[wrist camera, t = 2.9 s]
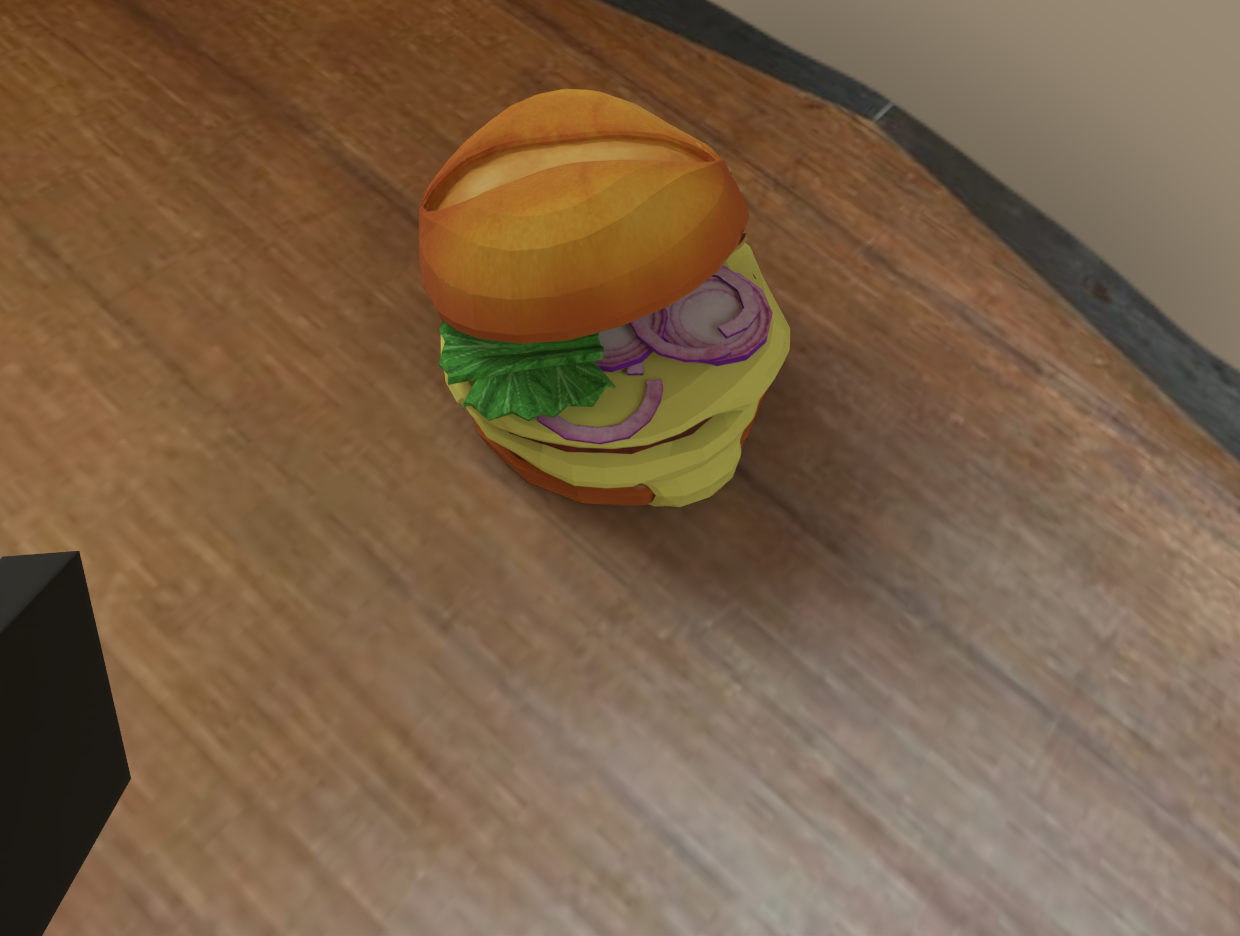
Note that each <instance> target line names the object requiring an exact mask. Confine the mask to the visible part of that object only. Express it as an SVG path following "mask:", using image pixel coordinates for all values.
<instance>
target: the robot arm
mask: <svg viewBox="0 0 1240 936" xmlns="http://www.w3.org/2000/svg"><path fill="white" fill-rule="evenodd" d="M130 779H131V776H130V772H129V767H128V763H127V759H126V754H125V750H124V745H123V741H122V737H121V732H120V728H119V723H118V719H117V715H116V710H115V706H114V702H113V697H112V693H111V688H110V684H109V680H108V675H107V671H106V666H105V662H104V658H103V653H102V649H101V645H100V640H99V636H98V631H97V627H96V623H95V618H94V614H93V609H92V605H91V601H90V596H89V592H88V587H87V583H86V579H85V574H84V570H83V566H82V561H81V557H80V552H79V551H72V552H59V553H46V554H33V555H19V556H6V557H2V558H1V559H0V936H42V935H43V933H44V931H45V929H46V928H47V926H48V924H49V922H50V921H51V919H52V917H53V915H54V914H55V912H56V910H57V908H58V907H59V905H60V903H61V901H62V899H63V898H64V896H65V894H66V892H67V891H68V889H69V887H70V885H71V884H72V882H73V880H74V878H75V876H76V875H77V873H78V871H79V869H80V868H81V866H82V864H83V862H84V861H85V859H86V857H87V855H88V854H89V852H90V850H91V848H92V846H93V845H94V843H95V841H96V839H97V838H98V836H99V834H100V832H101V831H102V829H103V827H104V825H105V823H106V822H107V820H108V818H109V816H110V815H111V813H112V811H113V809H114V808H115V806H116V804H117V802H118V801H119V799H120V797H121V795H122V793H123V792H124V790H125V788H126V786H127V785H128V783H129V781H130Z"/></svg>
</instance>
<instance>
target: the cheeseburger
mask: <svg viewBox="0 0 1240 936" xmlns="http://www.w3.org/2000/svg"><path fill="white" fill-rule="evenodd" d="M748 219H749V214H748V209H747V205H746V201H745V199H744V197H743V196H742V194H741V192H740V190H739V188H738V186H737V184H736V182H735V181H734V179H733V177H732V175H731V173H730V171H729V169H728V168H727V166H726V164H725V162H724V161H723V159H722V158H721V157H720V156H719V155H718V154H717V153H716V152H715V151H714V150H713V149H712V148H711V147H709V146H708V145H706V144H705V143H703V142H701V141H699V140H697V139H696V138H694V137H692V136H690V135H688V134H686V133H684V132H683V131H681V130H679V129H677V128H675V127H674V126H672V125H670V124H668V123H667V122H665V121H663V120H662V119H660V118H658V117H657V116H655V115H653V114H652V113H650V112H648V111H646V110H645V109H643V108H641V107H639V106H637V105H636V104H634V103H632V102H629V101H626V100H623V99H620V98H617V97H614V96H611V95H608V94H605V93H602V92H598V91H593V90H576V89H562V90H557V91H552V92H547V93H542V94H537V95H535V96H533V97H530V98H528V99H526V100H524V101H521V102H519V103H517V104H514V105H512V106H510V107H509V108H507V109H506V110H504V111H503V112H502V113H500V114H499V115H497V116H496V117H495V118H493V119H492V120H491V121H489V122H488V123H487V124H486V125H484V126H483V127H482V128H481V129H480V130H478V131H477V132H476V133H475V134H474V135H472V136H471V137H470V138H469V139H468V140H466V141H465V143H464V144H463V145H462V146H461V147H460V148H459V149H458V150H457V151H456V152H455V153H454V154H453V155H452V157H451V158H450V159H449V160H448V161H447V162H446V163H445V165H444V166H443V167H442V169H441V170H440V171H439V172H438V174H437V175H436V176H435V178H434V179H433V180H432V182H431V184H430V185H429V187H428V188H427V190H426V192H425V195H424V198H423V200H422V203H421V206H420V208H419V265H420V270H421V275H422V279H423V284H424V289H425V290H426V292H427V294H428V296H429V298H430V299H431V301H432V303H433V305H434V307H435V308H436V310H437V312H438V314H439V315H440V317H441V319H442V320H443V321H444V322H443V324H442V326H441V327H440V329H439V331H440V333H441V357H440V360H439V366H440V367H441V368H442V369H443V370H444V374H445V382H446V384H447V385H448V387H449V389H450V391H451V393H452V394H453V396H454V398H455V400H456V402H457V403H459V404H461V405H462V408H463V409H464V408H466V409H467V410H468V411H469V413H470V414H471V416H472V419H473V422H474V424H475V427H476V430H477V432H478V434H479V435H480V436H481V437H482V438H483V440H484V441H485V442H486V443H487V445H488V446H489V447H490V448H491V449H492V450H493V451H494V452H495V453H496V454H497V455H498V456H500V457H501V458H502V459H503V460H504V461H505V462H506V463H507V464H508V465H510V466H511V467H512V468H513V469H514V470H515V471H516V472H517V473H518V474H519V475H521V476H522V477H523V478H524V479H525V480H526V481H527V482H529V483H531V484H534V485H536V486H539V487H542V488H544V489H547V490H549V491H552V492H554V493H557V494H560V495H562V496H565V497H567V498H570V499H572V500H575V501H578V502H580V503H588V504H610V505H632V506H643V505H646V504H648V505H651V506H655V507H656V506H674V507H682V506H685V505H688V504H691V503H693V502H696V501H699V500H702V499H705V498H708V497H711V496H712V495H713V494H714V493H715V492H716V491H718V490H719V489H720V488H721V487H722V486H723V485H725V484H726V483H727V482H728V481H729V480H730V479H732V477H733V475H734V472H735V469H736V467H737V464H738V462H739V459H740V456H741V447H742V446H743V444H744V442H745V440H746V438H747V437H748V435H749V432H750V430H751V428H752V425H753V423H754V421H755V418H756V416H757V413H758V411H759V409H760V406H761V404H762V402H763V399H764V397H765V395H766V392H767V390H768V388H769V386H770V385H771V383H772V382H773V380H774V379H775V377H776V375H777V373H778V372H779V370H780V368H781V366H782V365H783V363H784V360H785V358H786V356H787V354H788V352H789V350H790V327H789V325H788V323H787V321H786V320H785V318H784V316H783V314H782V312H781V310H780V308H779V306H778V305H777V303H776V301H775V299H774V297H773V295H772V293H771V291H770V289H769V288H768V286H767V284H766V282H765V280H764V278H763V276H762V274H761V272H760V269H759V267H758V265H757V262H756V260H755V257H754V255H753V252H752V250H751V247H750V246H748V245H747V244H746V243H745V242H746V240H747V238H748V235H747V234H746V233H743V232H744V229H745V227H746V225H747V222H748Z"/></svg>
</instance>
